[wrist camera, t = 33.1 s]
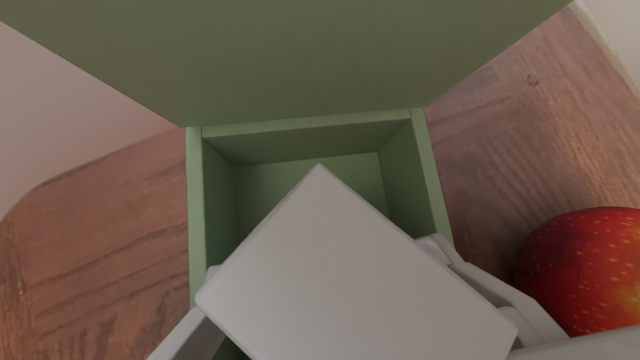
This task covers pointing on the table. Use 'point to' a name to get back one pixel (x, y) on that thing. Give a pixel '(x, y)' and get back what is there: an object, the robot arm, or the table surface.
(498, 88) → the table surface
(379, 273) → the cosmetic box
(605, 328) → the fruit
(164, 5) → the lid
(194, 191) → the chest
